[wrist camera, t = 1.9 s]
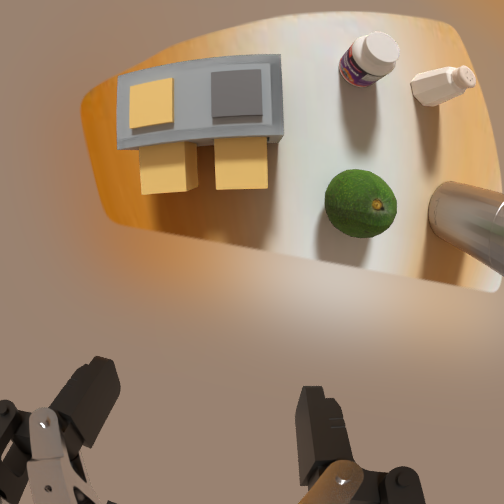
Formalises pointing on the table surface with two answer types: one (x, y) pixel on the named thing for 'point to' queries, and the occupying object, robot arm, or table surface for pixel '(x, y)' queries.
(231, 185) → the button
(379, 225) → the fruit
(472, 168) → the table surface
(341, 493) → the robot arm
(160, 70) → the console
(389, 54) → the pill bottle
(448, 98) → the pepper shaker
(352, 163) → the table surface
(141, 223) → the table surface
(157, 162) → the button
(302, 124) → the table surface
